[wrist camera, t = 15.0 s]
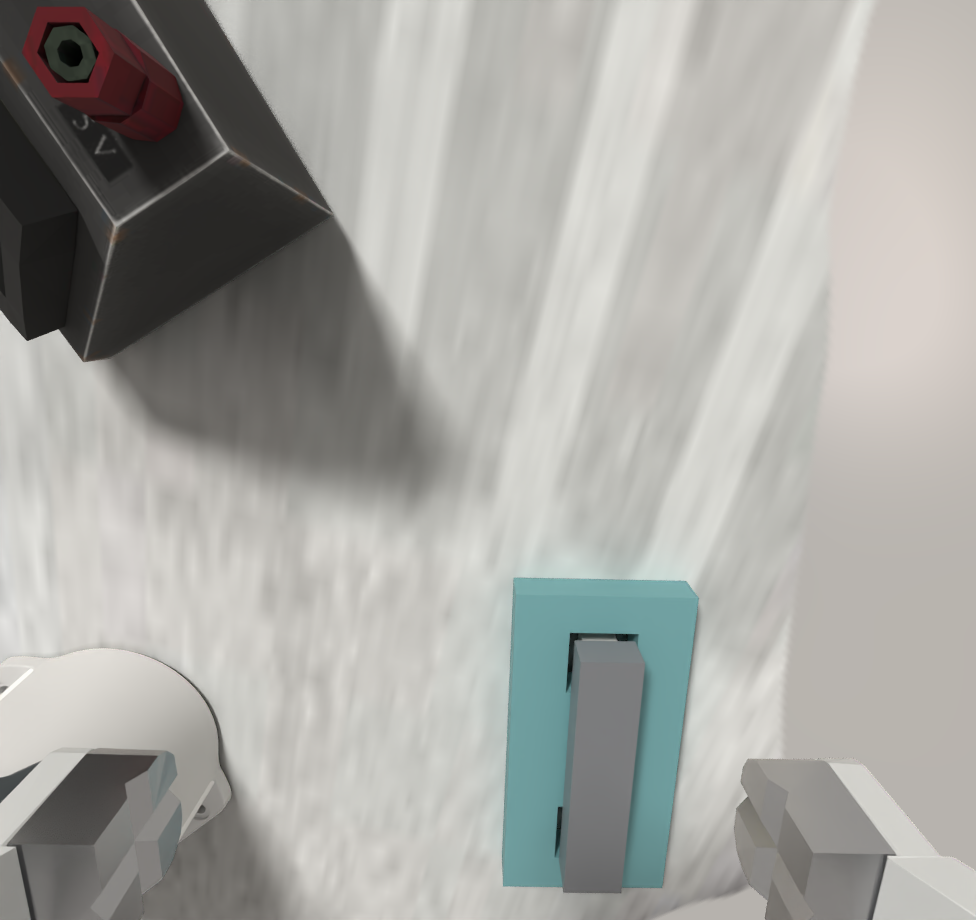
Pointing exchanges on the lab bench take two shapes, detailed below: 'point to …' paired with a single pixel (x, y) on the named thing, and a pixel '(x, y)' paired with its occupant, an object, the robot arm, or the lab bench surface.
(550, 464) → the lab bench surface
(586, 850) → the pin bar
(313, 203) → the voltmeter
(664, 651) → the mounting plate
